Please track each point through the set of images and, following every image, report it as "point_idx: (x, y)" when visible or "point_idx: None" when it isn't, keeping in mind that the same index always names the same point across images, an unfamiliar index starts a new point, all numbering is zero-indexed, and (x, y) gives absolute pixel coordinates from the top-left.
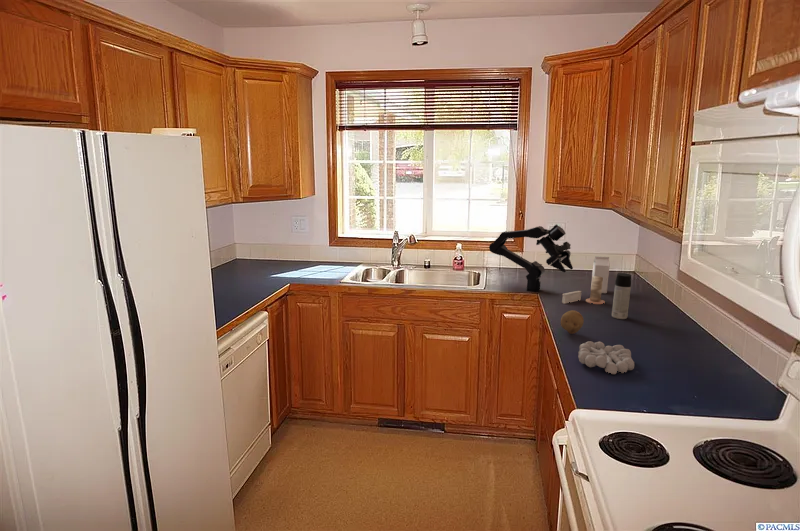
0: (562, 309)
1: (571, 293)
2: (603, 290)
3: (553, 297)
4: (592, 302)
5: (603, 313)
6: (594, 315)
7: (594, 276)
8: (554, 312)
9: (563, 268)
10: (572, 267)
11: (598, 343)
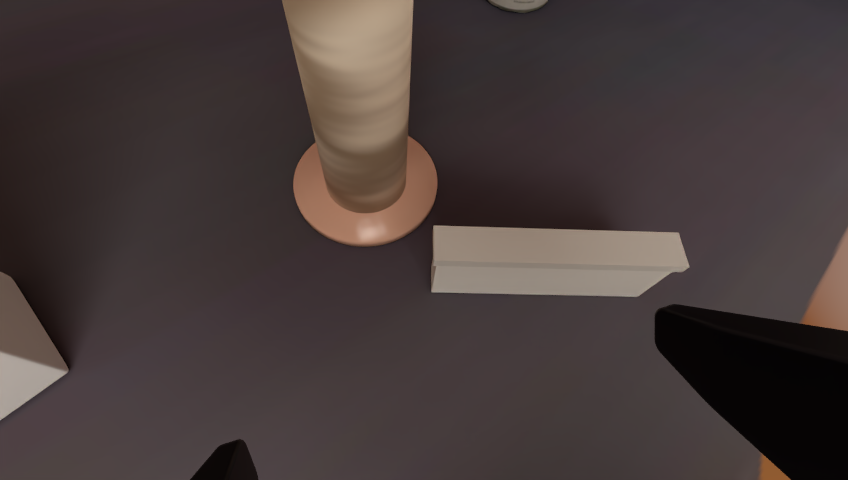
0: (736, 194)
1: (590, 230)
2: (4, 287)
3: (596, 472)
4: (430, 164)
5: (539, 46)
6: (615, 52)
7: (340, 24)
8: (827, 182)
9: (767, 324)
10: (225, 454)
11: None
